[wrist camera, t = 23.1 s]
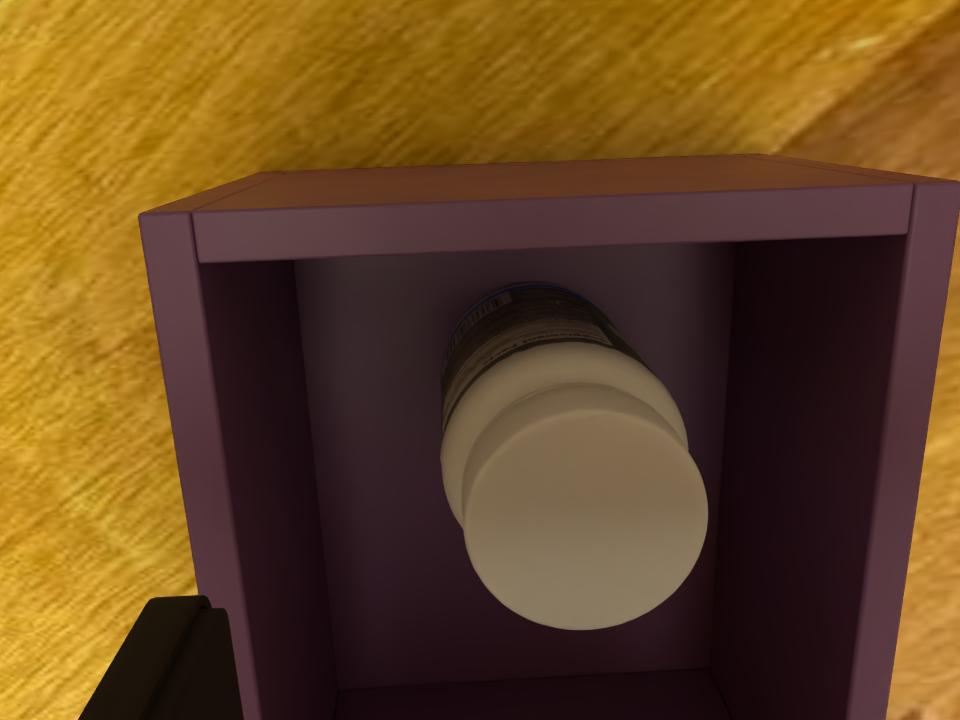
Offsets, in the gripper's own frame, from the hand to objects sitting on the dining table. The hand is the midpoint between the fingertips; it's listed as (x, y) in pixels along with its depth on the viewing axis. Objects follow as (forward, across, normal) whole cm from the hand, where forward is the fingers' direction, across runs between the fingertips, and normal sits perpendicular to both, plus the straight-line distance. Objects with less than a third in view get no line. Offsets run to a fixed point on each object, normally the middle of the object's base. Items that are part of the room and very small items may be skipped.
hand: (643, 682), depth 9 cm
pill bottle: (+12, 0, 0) cm, 13 cm away
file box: (+13, 0, +3) cm, 13 cm away
